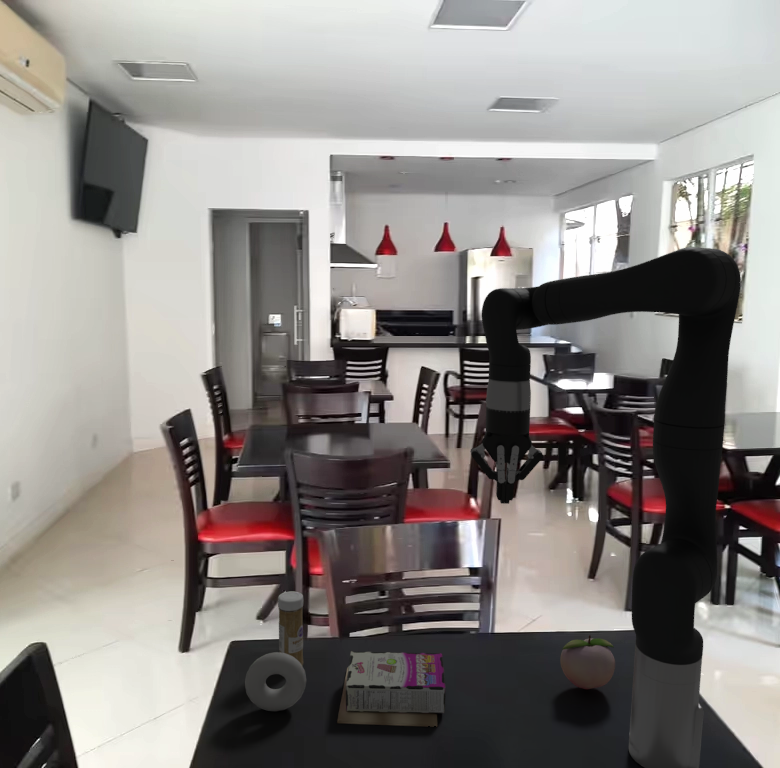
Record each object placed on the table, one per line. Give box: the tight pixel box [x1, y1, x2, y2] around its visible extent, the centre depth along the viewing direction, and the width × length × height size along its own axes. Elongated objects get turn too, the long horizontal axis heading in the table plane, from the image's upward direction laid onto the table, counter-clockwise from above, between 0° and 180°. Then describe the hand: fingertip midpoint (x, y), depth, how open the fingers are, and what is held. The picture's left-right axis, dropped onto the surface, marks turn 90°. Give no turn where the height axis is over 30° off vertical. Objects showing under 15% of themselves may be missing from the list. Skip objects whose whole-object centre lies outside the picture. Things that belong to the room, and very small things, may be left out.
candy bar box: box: [346, 650, 447, 714], centre depth 122 cm, size 11×5×16 cm
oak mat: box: [336, 666, 438, 728], centre depth 123 cm, size 16×16×1 cm
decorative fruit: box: [560, 634, 616, 690], centre depth 125 cm, size 9×8×10 cm
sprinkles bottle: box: [277, 591, 304, 666], centre depth 132 cm, size 5×5×14 cm
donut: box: [244, 651, 307, 712], centre depth 118 cm, size 10×4×10 cm, turn 97°
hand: (504, 502), depth 127 cm, fingers closed
